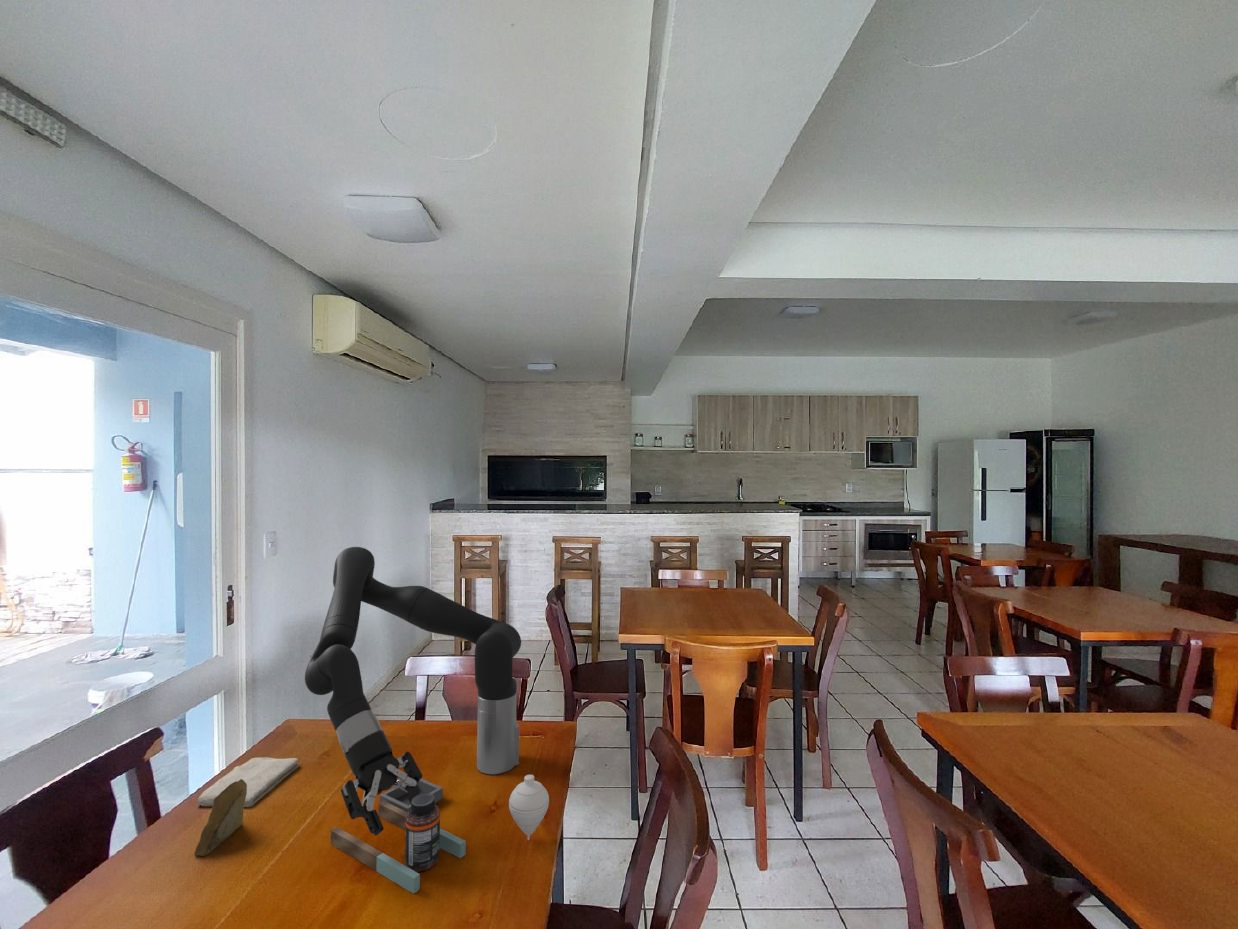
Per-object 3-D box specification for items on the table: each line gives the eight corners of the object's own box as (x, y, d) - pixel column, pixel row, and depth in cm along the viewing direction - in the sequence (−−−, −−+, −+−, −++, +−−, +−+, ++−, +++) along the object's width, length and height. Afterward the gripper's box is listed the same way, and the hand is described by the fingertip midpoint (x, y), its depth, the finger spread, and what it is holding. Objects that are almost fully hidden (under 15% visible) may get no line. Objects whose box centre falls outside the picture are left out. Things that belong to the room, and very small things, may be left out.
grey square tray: (379, 807, 117) (379, 795, 117) (415, 787, 124) (415, 776, 124) (407, 821, 112) (407, 808, 112) (442, 799, 120) (442, 787, 120)
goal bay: (376, 871, 98) (376, 857, 98) (428, 836, 107) (429, 823, 107) (413, 894, 92) (413, 878, 92) (465, 854, 102) (465, 841, 102)
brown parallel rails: (330, 843, 105) (330, 830, 105) (383, 813, 115) (383, 800, 115) (376, 871, 98) (376, 857, 98) (429, 836, 107) (429, 823, 107)
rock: (208, 852, 99) (264, 815, 108) (186, 809, 100) (243, 775, 109) (185, 871, 103) (241, 833, 112) (165, 829, 105) (222, 795, 114)
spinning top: (555, 832, 109) (556, 770, 109) (537, 857, 102) (537, 790, 102) (520, 824, 111) (521, 763, 112) (500, 848, 104) (501, 783, 104)
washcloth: (301, 766, 134) (302, 753, 134) (251, 811, 116) (252, 796, 116) (252, 766, 134) (253, 753, 134) (195, 810, 116) (195, 795, 116)
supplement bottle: (409, 852, 103) (411, 790, 103) (442, 850, 103) (443, 788, 104) (400, 875, 97) (401, 809, 97) (434, 873, 97) (436, 807, 98)
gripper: (386, 737, 116) (421, 810, 110) (319, 767, 104) (355, 851, 98) (403, 717, 113) (440, 792, 107) (337, 746, 101) (375, 832, 95)
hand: (399, 820), depth 102 cm, fingers open, 8 cm apart
